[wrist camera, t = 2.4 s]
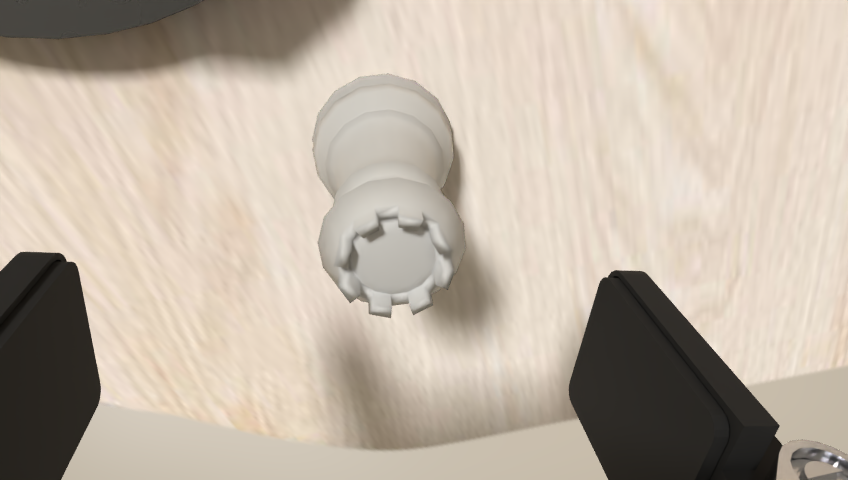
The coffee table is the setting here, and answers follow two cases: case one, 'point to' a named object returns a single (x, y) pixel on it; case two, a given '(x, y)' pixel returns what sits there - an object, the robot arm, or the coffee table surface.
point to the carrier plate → (81, 16)
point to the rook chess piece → (387, 193)
